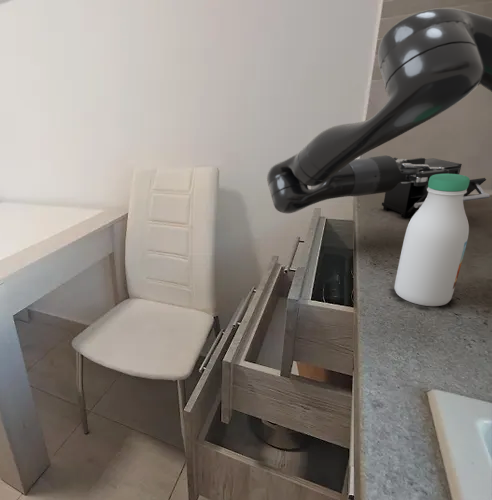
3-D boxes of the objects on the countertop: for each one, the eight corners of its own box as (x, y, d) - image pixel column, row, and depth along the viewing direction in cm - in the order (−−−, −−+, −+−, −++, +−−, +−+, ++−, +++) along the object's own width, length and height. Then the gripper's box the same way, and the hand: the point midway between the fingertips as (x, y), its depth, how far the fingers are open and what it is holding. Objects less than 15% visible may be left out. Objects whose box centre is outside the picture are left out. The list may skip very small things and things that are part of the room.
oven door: (463, 219, 88) (497, 193, 79) (394, 229, 87) (421, 203, 78) (453, 204, 90) (485, 177, 81) (385, 213, 89) (410, 187, 80)
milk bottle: (444, 313, 56) (479, 186, 48) (387, 297, 62) (410, 180, 53) (455, 292, 61) (489, 172, 53) (401, 279, 66) (424, 168, 58)
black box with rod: (449, 212, 91) (462, 160, 86) (404, 218, 90) (414, 166, 85) (423, 203, 99) (433, 154, 93) (380, 208, 98) (388, 160, 93)
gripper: (393, 164, 67) (476, 153, 68) (346, 152, 80) (416, 143, 81) (387, 204, 70) (466, 192, 71) (342, 186, 83) (410, 176, 84)
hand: (439, 166), depth 76 cm, fingers open, 8 cm apart
